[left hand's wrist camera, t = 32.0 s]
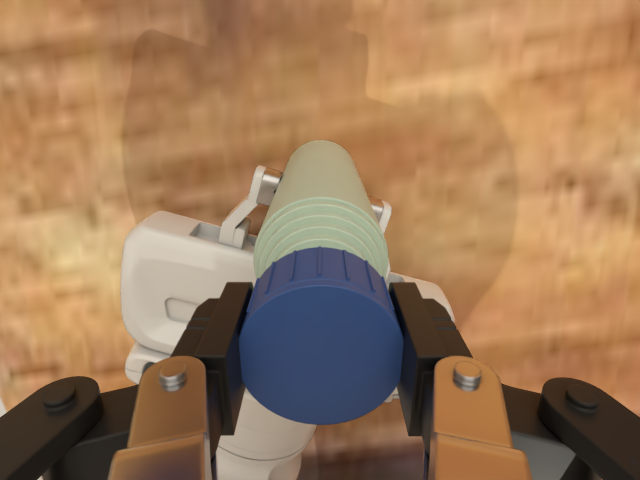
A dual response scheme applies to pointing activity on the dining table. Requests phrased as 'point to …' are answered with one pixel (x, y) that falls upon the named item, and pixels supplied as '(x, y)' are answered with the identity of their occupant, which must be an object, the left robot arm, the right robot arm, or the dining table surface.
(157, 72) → the dining table surface
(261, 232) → the bottle
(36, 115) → the dining table surface
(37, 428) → the left robot arm
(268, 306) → the cap
